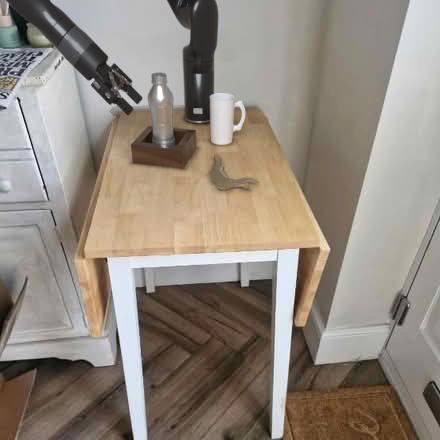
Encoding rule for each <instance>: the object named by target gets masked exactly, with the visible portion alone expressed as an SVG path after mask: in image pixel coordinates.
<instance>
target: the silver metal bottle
mask: <svg viewBox="0 0 440 440" xmlns="http://www.w3.org/2000/svg"><path fill="white" fill-rule="evenodd" d="M150 75H151V84H152V86H151V88H150V89H149V92H148V94H147V103H148V107H149V111H150V118H151V126H153V138H152V144H162V145H172V146H176V140H175V137H174V130H173V128H174V121H173V120H174V119H173V118H174V117H173V115H174V114H173V113H174V95H173V92H172V91H171V89H170V88H169V86H168V85H167V84H168V79H167V74H166V73H165V72H153V73H151V74H150Z"/></svg>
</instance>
